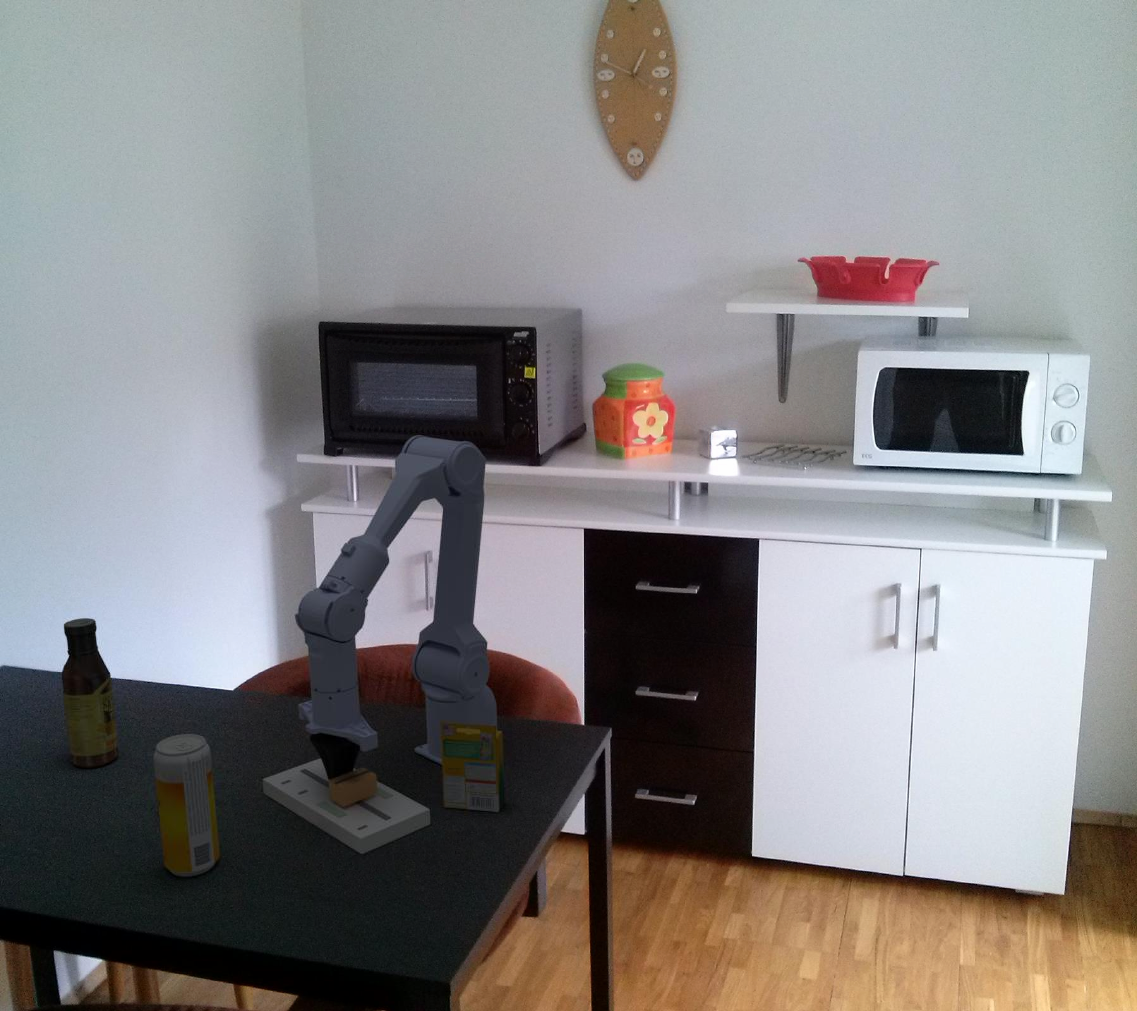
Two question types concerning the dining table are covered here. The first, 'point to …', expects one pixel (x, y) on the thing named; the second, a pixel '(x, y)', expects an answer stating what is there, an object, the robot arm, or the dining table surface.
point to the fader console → (346, 808)
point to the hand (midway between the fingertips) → (340, 786)
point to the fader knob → (353, 786)
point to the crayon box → (472, 766)
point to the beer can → (186, 804)
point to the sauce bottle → (88, 698)
